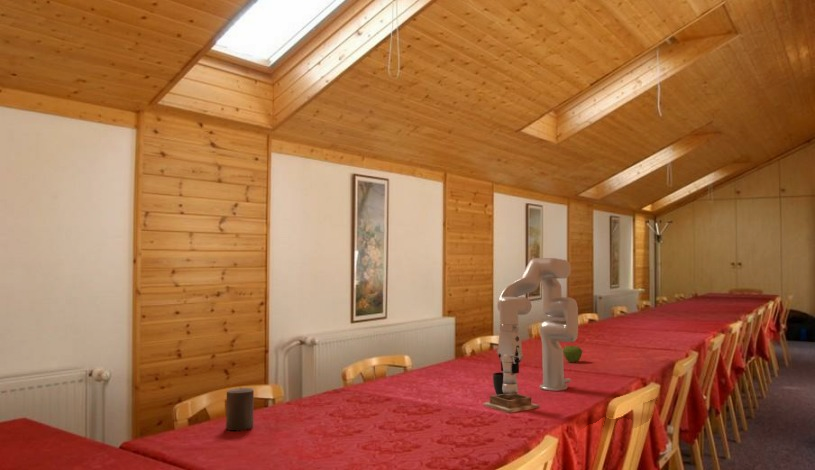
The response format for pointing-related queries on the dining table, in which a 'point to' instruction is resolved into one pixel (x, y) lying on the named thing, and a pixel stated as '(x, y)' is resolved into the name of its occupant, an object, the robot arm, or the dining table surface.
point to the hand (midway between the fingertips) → (509, 371)
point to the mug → (498, 382)
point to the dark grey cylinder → (239, 409)
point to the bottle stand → (510, 403)
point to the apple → (572, 353)
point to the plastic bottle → (509, 377)
